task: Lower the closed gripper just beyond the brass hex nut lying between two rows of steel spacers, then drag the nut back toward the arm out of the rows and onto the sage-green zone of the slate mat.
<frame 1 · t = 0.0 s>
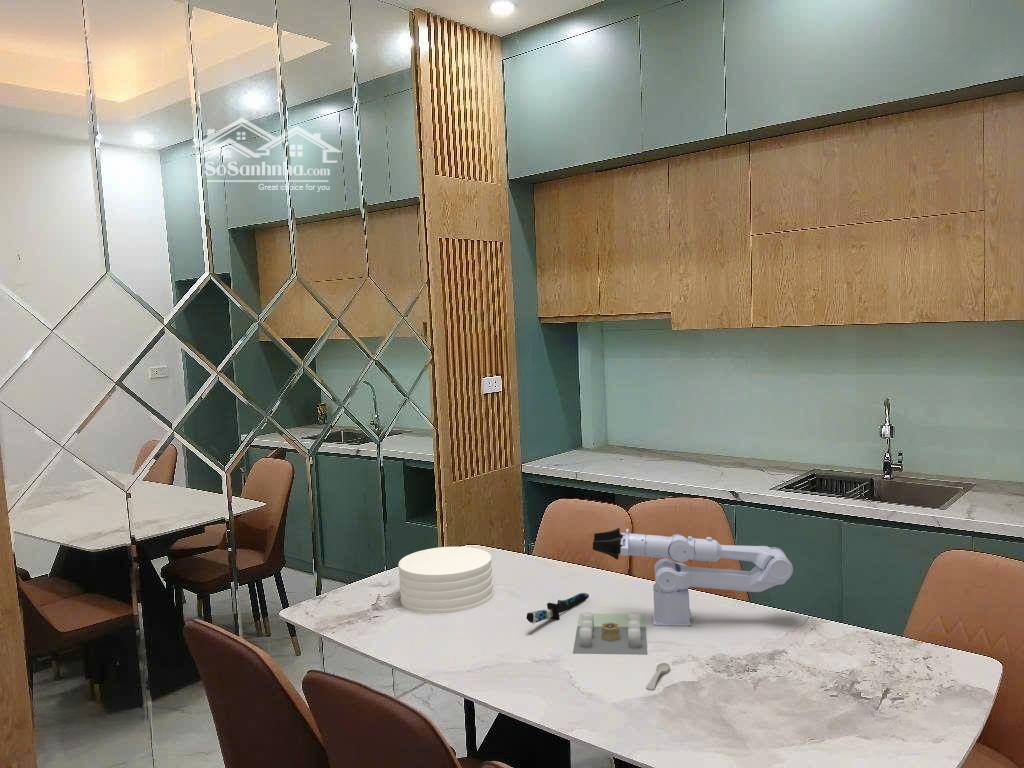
hand: (593, 541, 207), 22 cm above the table, fingers open, 7 cm apart
plate stack: (447, 597, 234), on the table
nut: (610, 637, 196), resting on spacer board
knife: (561, 616, 213), on the table
spacer board: (611, 633, 199), on the table
spoon: (658, 680, 173), on the table
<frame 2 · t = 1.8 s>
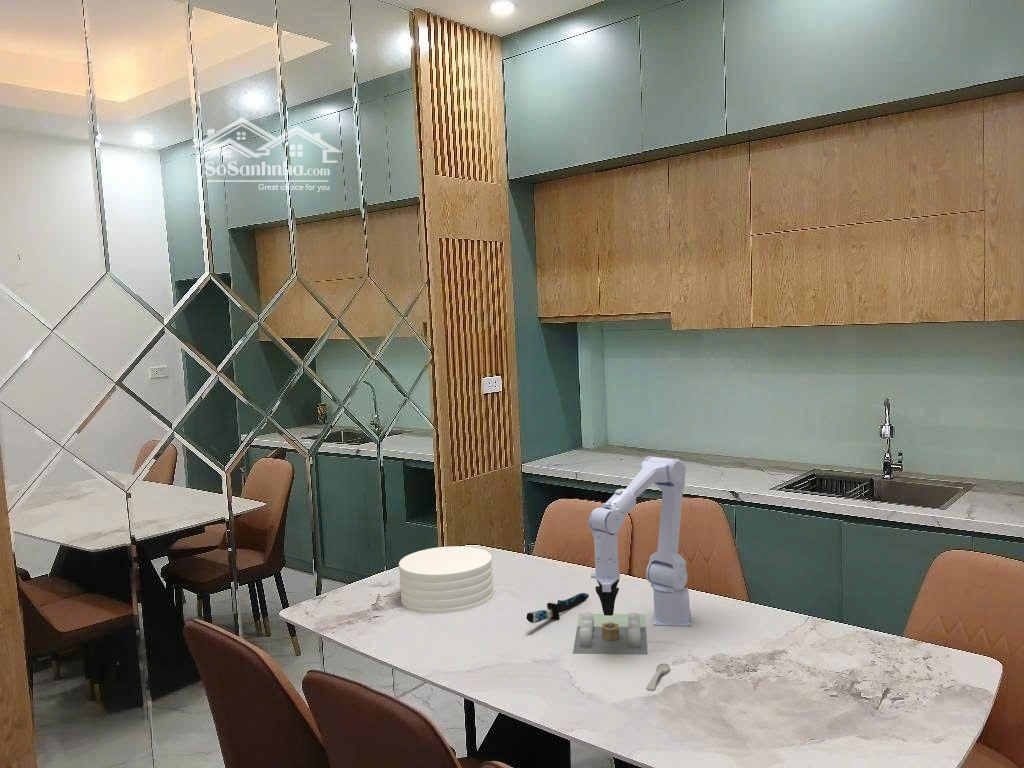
hand: (608, 610, 190), 9 cm above the table, fingers open, 5 cm apart
nothing on the table moved.
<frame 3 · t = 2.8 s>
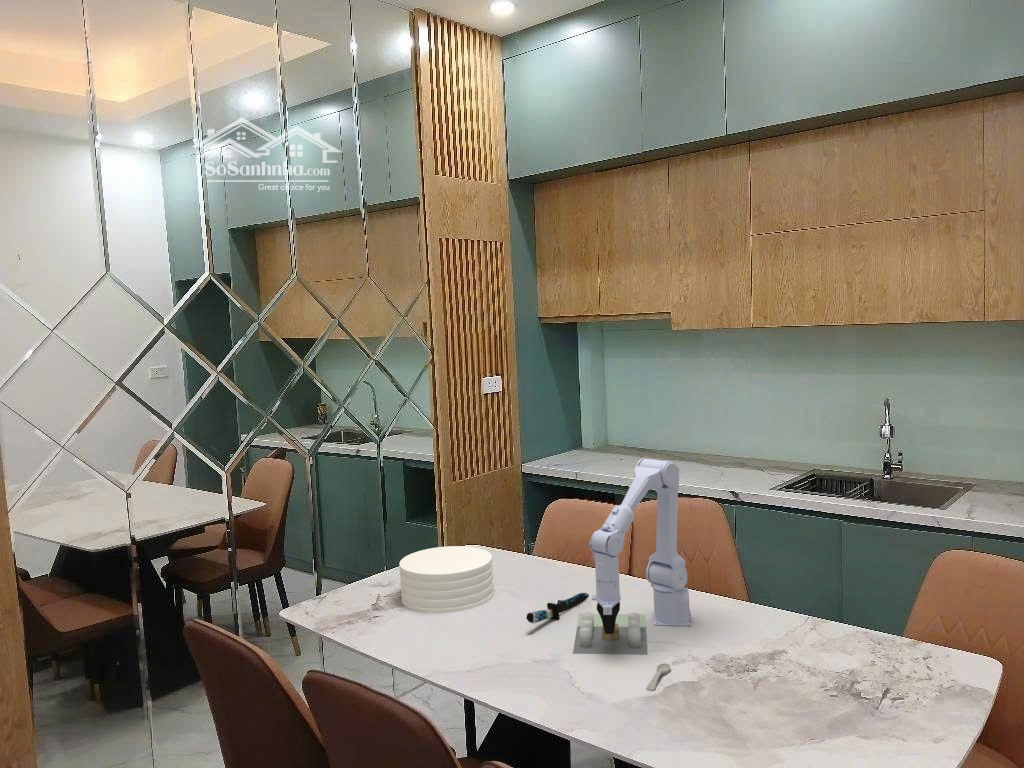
hand: (609, 632, 190), 4 cm above the table, fingers closed
nothing on the table moved.
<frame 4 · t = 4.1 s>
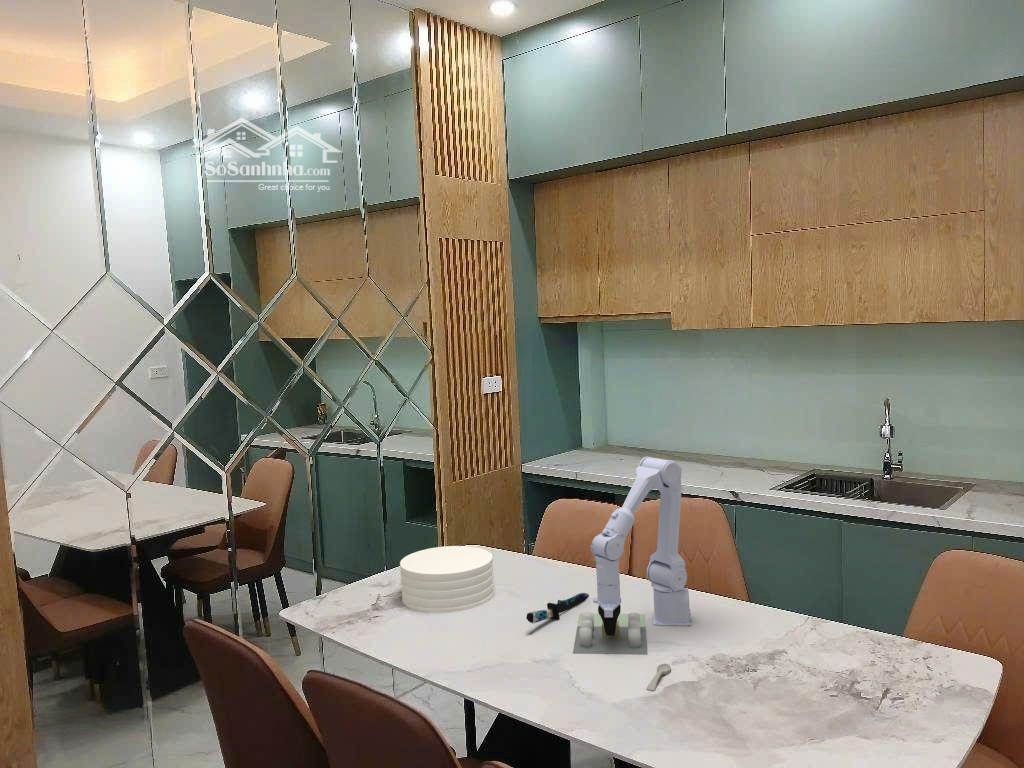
hand: (610, 634, 195), 2 cm above the table, fingers closed
nut: (610, 634, 198), resting on spacer board, touching gripper
everything else where it was.
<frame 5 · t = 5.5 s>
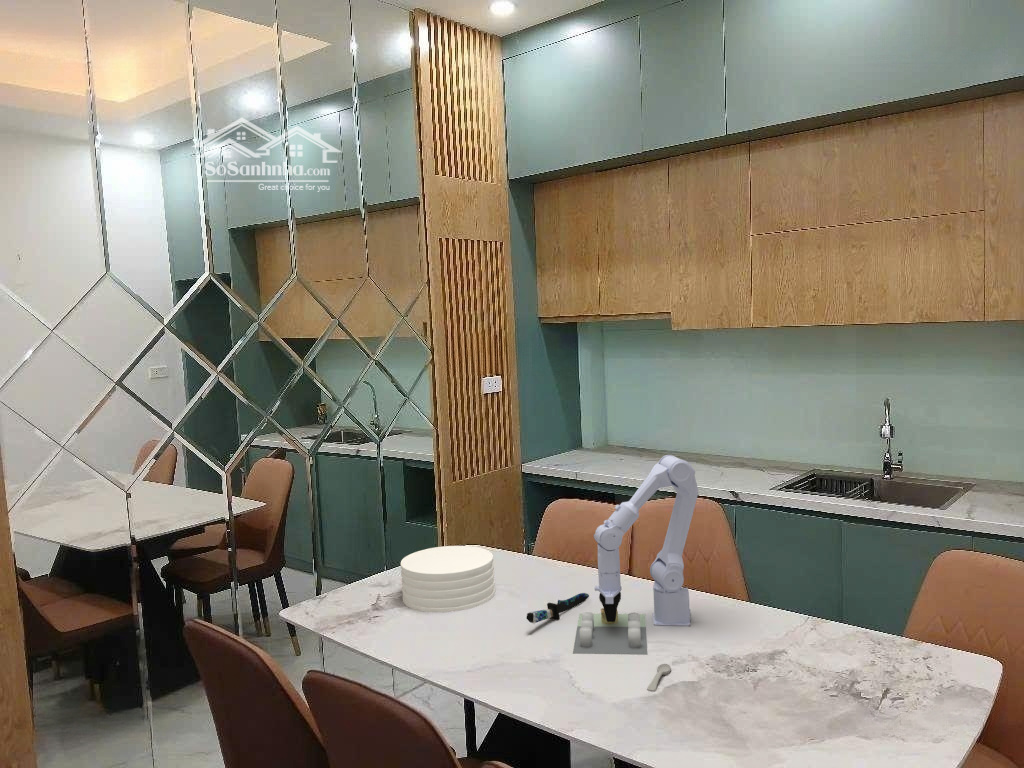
hand: (611, 620, 204), 2 cm above the table, fingers closed
nut: (609, 621, 207), resting on spacer board, touching gripper
everything else where it was.
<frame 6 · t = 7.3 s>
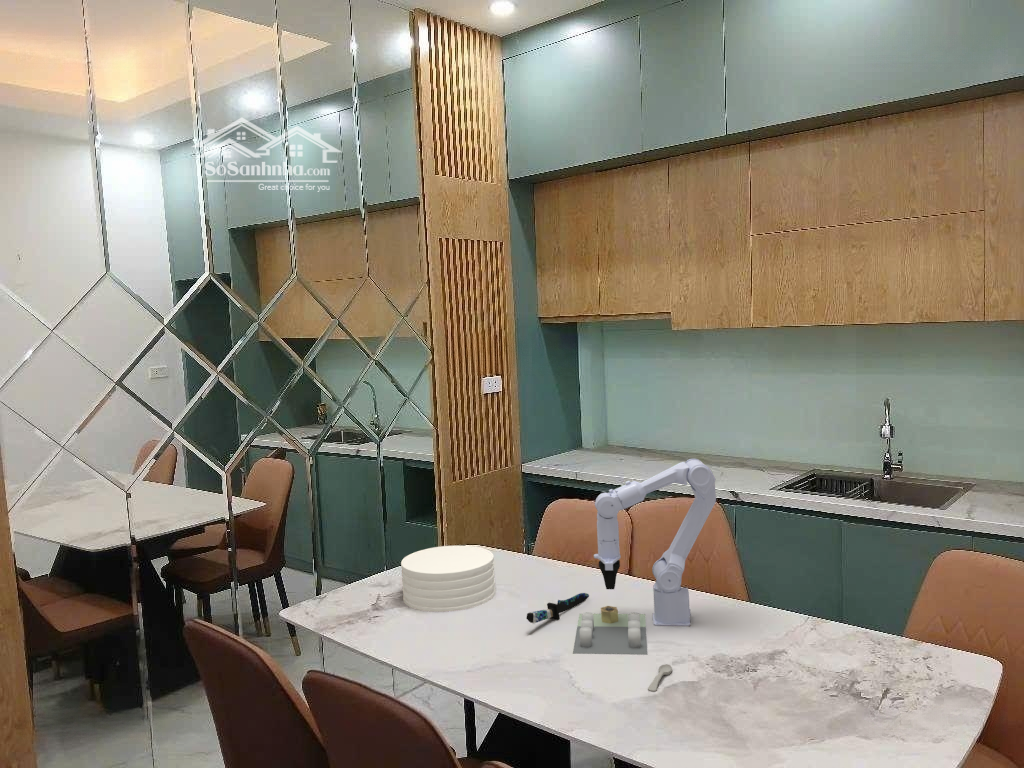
hand: (610, 588, 206), 9 cm above the table, fingers closed
nut: (609, 619, 208), resting on spacer board
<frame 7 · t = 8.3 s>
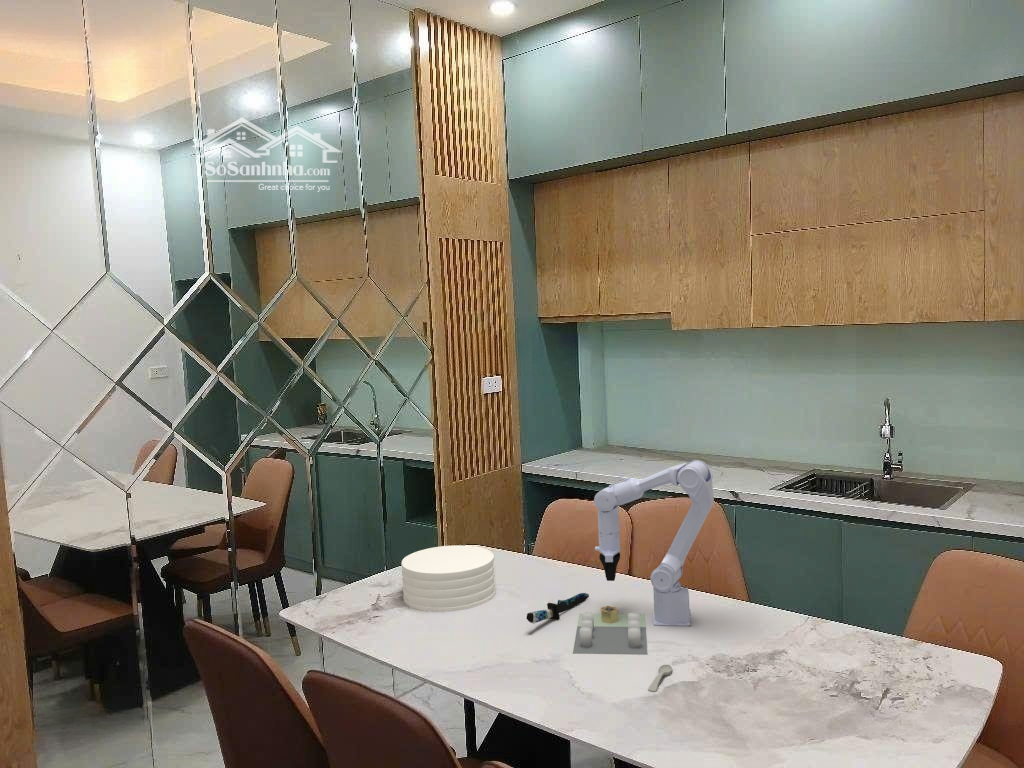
hand: (610, 580, 213), 9 cm above the table, fingers closed
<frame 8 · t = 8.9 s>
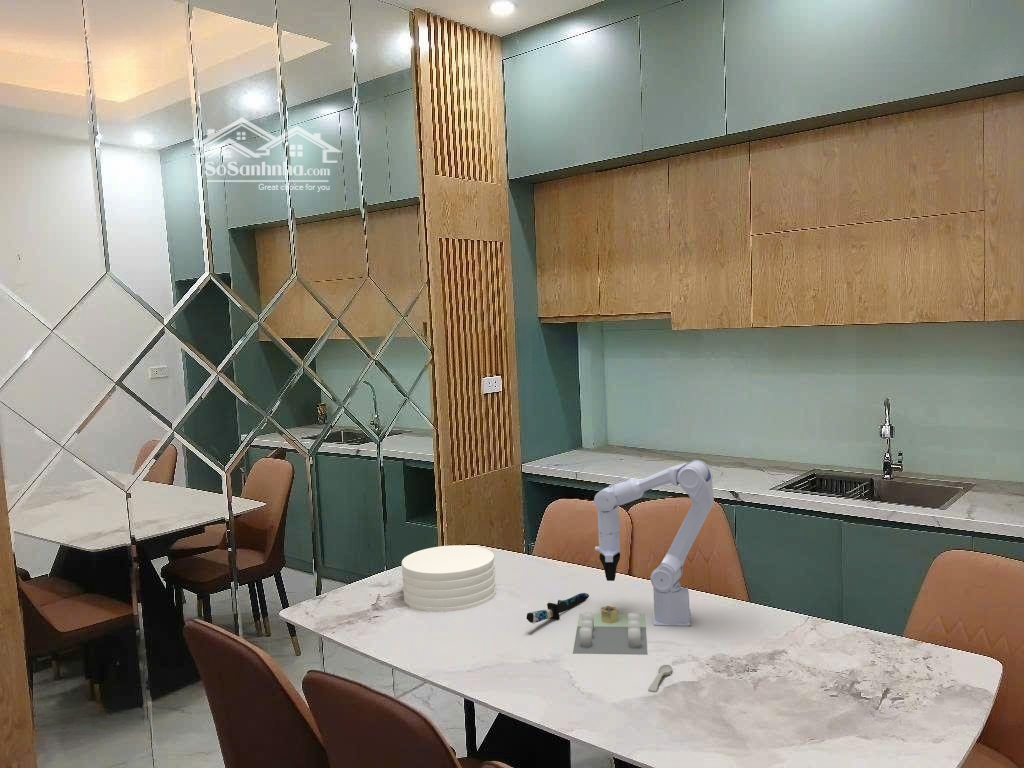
hand: (610, 580, 213), 9 cm above the table, fingers closed
at the end: nut inside the target area (0.9 cm from its centre), resting on spacer board; nut tilted 0°; nut moved 11.6 cm from its start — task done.
